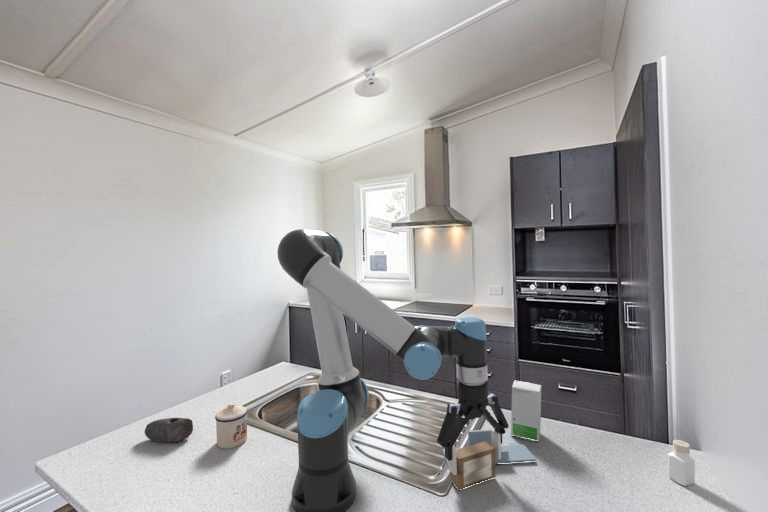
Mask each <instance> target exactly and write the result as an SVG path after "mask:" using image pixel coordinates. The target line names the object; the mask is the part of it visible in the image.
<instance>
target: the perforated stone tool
mask: <svg viewBox="0 0 768 512" xmlns="http://www.w3.org/2000/svg"><path fill="white" fill-rule="evenodd" d="M193 430H194V425H193V420H192V419H190V418H187V417H184V418H183V417H168V418H161V419H156V420H153V421H151V422H150V423H148V424H146V426H145V429H144V436H145V437H146V438H148V439H149V440H151V441H152V442H153V441H154V442H160V443H174V442H178V443H181V442H183V441H184V440H186V439H188V438H189V437H190V435H192V434H193Z"/></svg>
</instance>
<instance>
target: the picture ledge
mask: <svg viewBox="0 0 768 512" xmlns="http://www.w3.org/2000/svg"><path fill="white" fill-rule="evenodd" d="M492 429H494V428H492ZM492 429H475V430H473V429H472V430H471V429H470V430H467V443H468V445H467V446H470V445H474V444H477V443H481V442H484V441H487V442H488V443H489V444H490V445H491V430H492ZM494 430H495V429H494ZM460 448H461V447H456V450H457V449H460ZM442 454H443V457H444V459H445V462H447V463H446V464H448V460H447V459H446V457H445V448H442ZM524 461H536V462H537V459H536V457H535V456H534V455H533V454H532V452H531V451H530V450H529V449H528V448H527V446H526V445H525V444H512V445H511V444H509V445H501V459H497V458H496V457H495V464H498V463H511V462H524Z"/></svg>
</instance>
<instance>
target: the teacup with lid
mask: <svg viewBox="0 0 768 512" xmlns="http://www.w3.org/2000/svg"><path fill="white" fill-rule="evenodd" d="M247 414H248V409H247V407H245V406H243V405H236V404H235V403H234V402H230V403H228V404H227V406H226V407H224V408H222V409H220V410H219V411H217V413H216V414H215V416H214V419H215V424H216V425H215V426H216V429H215V430H216V445H217V446H218V447H219V448H221V449H234V448H236V447H239V446H241V445H242V444H244V443H245V442H246V441H247V439H248V421H247V420H248V419H247V417H248V416H247Z"/></svg>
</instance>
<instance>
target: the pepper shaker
mask: <svg viewBox="0 0 768 512" xmlns="http://www.w3.org/2000/svg"><path fill="white" fill-rule="evenodd" d="M690 448H691V446H690V443H688V442H686V441H683V440H680V439H674V440H673V441H672V450H673V451H670V452H669V453H668V454H667V477H668V476H669V477H670V478H672V479H673V480H672V479H671V480H672V481H674V480H675V481H677V482H678V483H677V482H676V483H677V484H679V483H680V484H681V485H680V484H679V485H680V486H682V485H683V487H687V486H691V485H694V484H695V481H696V479H695V469H696V467H695V465H696V464H695V462H696V461H695V459H694V458H693V457H691V456H690V454H691V453H690V450H691V449H690ZM669 477H668V478H669ZM670 478H669V479H670ZM675 481H674V482H675ZM690 484H691V485H690ZM686 485H687V486H686Z"/></svg>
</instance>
